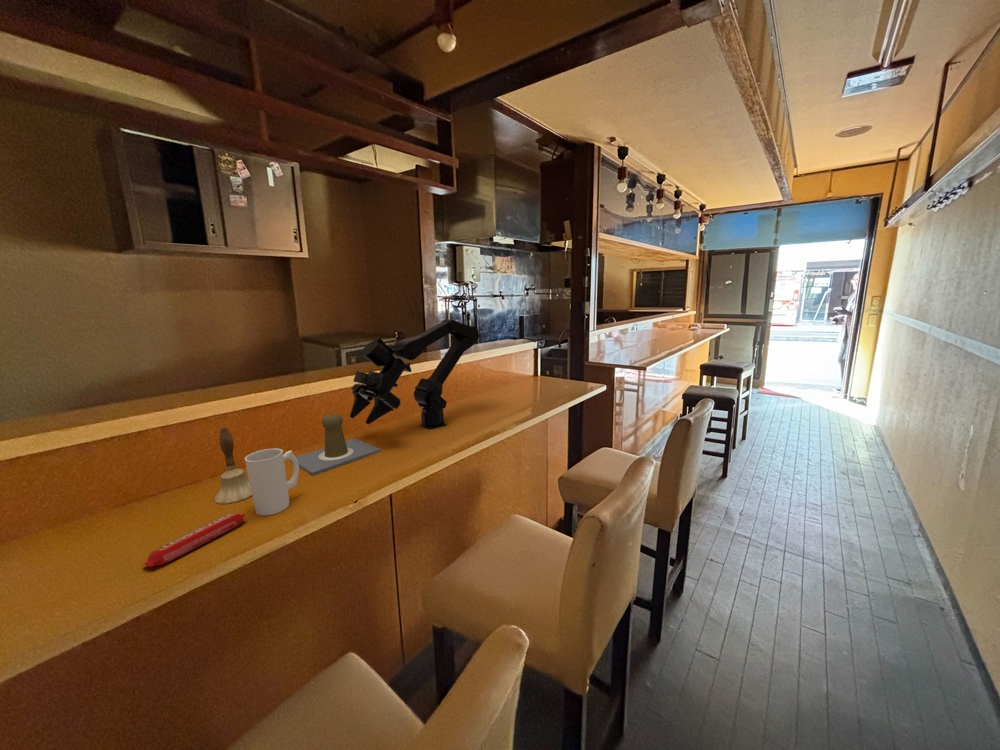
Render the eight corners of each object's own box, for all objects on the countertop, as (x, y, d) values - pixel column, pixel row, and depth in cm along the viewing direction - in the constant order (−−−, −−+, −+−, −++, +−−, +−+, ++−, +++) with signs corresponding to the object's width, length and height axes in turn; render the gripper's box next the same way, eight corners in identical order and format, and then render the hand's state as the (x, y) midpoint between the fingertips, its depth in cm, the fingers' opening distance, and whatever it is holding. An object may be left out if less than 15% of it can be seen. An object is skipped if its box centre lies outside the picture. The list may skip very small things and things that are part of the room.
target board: (355, 440, 122) (355, 438, 122) (380, 451, 113) (380, 448, 112) (290, 461, 108) (290, 458, 108) (312, 475, 99) (312, 472, 99)
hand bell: (205, 500, 88) (191, 432, 85) (241, 484, 96) (229, 420, 93) (231, 506, 85) (217, 436, 82) (266, 489, 93) (254, 423, 90)
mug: (264, 520, 80) (254, 464, 77) (248, 511, 83) (238, 457, 81) (311, 498, 88) (304, 446, 85) (294, 490, 91) (287, 441, 89)
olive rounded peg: (321, 458, 107) (315, 419, 105) (329, 449, 113) (324, 412, 111) (344, 457, 108) (339, 417, 105) (350, 448, 113) (346, 411, 111)
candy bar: (238, 519, 81) (236, 506, 80) (249, 523, 79) (247, 510, 79) (141, 569, 67) (137, 553, 66) (152, 575, 65) (148, 559, 65)
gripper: (353, 357, 121) (322, 400, 115) (386, 362, 108) (353, 411, 103) (379, 377, 128) (351, 419, 122) (413, 385, 115) (383, 432, 110)
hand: (358, 420), depth 114 cm, fingers open, 9 cm apart
